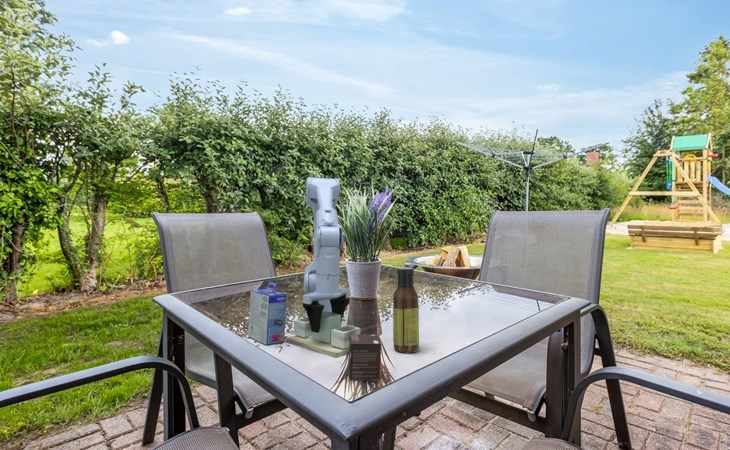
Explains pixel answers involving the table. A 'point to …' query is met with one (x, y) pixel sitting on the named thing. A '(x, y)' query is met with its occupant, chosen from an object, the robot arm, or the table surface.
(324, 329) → the block
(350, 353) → the box
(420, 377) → the table surface
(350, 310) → the table surface
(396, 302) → the sauce bottle
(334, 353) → the board
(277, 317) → the ink cartridge box
